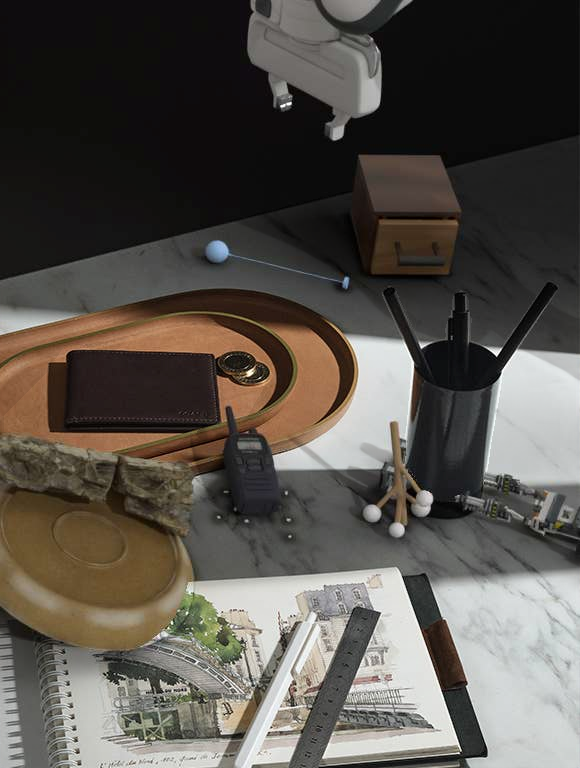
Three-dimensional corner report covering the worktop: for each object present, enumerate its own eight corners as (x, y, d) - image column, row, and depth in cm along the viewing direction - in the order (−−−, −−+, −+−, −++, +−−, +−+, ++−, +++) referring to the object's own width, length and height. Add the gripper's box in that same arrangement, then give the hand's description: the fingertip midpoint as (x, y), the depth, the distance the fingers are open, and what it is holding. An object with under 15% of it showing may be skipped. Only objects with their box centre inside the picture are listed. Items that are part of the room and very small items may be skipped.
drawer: (455, 295, 169) (466, 244, 164) (377, 294, 169) (385, 244, 164) (429, 219, 183) (438, 170, 178) (357, 218, 183) (364, 170, 178)
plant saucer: (-10, 622, 113) (-20, 646, 115) (233, 636, 122) (220, 658, 123) (-42, 441, 130) (-49, 465, 132) (173, 465, 139) (163, 487, 141)
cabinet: (449, 273, 174) (461, 212, 168) (364, 272, 174) (374, 211, 168) (429, 214, 186) (440, 155, 180) (349, 214, 186) (358, 154, 180)
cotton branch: (435, 421, 132) (445, 533, 134) (414, 412, 138) (424, 519, 140) (366, 432, 131) (377, 544, 133) (348, 422, 137) (359, 529, 140)
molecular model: (343, 298, 172) (345, 286, 169) (203, 264, 176) (202, 251, 174) (350, 280, 173) (351, 267, 170) (210, 247, 177) (209, 233, 175)
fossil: (177, 450, 136) (215, 476, 127) (158, 515, 138) (194, 545, 129) (-14, 407, 128) (12, 432, 119) (-34, 477, 129) (-9, 507, 120)
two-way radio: (236, 497, 135) (215, 397, 145) (229, 524, 138) (209, 425, 148) (287, 497, 135) (263, 398, 146) (278, 524, 139) (255, 425, 149)
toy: (401, 423, 142) (684, 498, 130) (396, 470, 146) (669, 547, 135) (376, 466, 137) (668, 548, 125) (372, 513, 141) (654, 597, 129)
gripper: (401, 35, 142) (385, 148, 151) (281, -21, 155) (273, 87, 164) (360, 49, 139) (346, 163, 148) (241, -9, 152) (235, 99, 161)
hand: (307, 122), depth 156 cm, fingers open, 8 cm apart
